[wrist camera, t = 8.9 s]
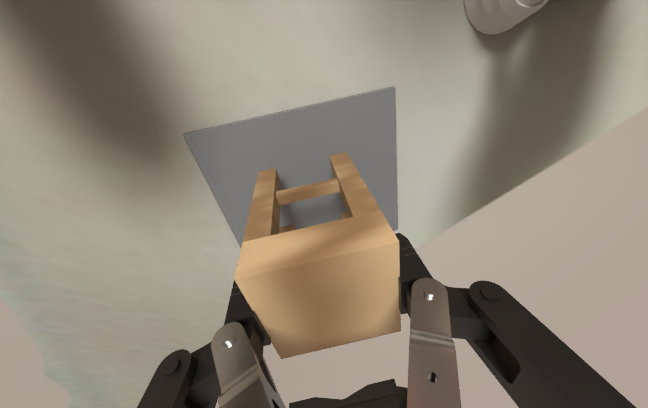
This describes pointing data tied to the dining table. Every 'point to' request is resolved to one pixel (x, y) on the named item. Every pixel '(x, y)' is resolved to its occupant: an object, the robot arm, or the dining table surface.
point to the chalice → (499, 13)
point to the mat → (302, 157)
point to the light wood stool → (320, 265)
